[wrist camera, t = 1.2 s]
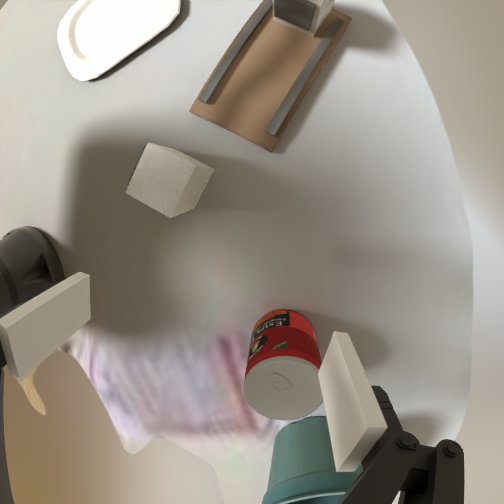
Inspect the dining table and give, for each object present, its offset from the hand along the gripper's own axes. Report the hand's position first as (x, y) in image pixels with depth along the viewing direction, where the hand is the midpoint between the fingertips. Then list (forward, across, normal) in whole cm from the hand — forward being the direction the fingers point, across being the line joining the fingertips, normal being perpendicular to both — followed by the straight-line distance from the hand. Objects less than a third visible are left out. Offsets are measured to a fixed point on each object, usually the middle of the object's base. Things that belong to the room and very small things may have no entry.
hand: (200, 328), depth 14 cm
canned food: (+20, +7, -10) cm, 23 cm away
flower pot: (+19, +17, -29) cm, 39 cm away
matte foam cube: (+20, -7, +6) cm, 22 cm away
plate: (+20, -24, +28) cm, 42 cm away
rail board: (+19, 0, +22) cm, 29 cm away
